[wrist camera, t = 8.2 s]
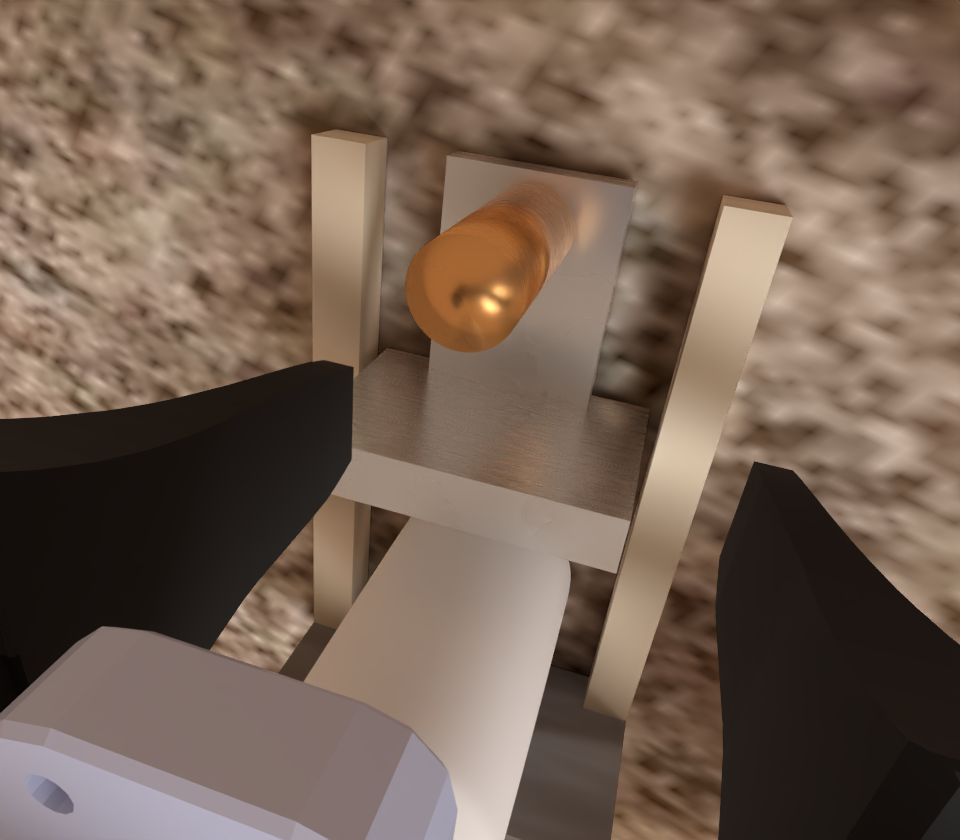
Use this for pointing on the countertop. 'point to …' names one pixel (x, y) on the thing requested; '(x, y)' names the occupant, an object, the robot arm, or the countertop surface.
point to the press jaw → (508, 369)
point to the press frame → (661, 505)
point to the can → (456, 657)
